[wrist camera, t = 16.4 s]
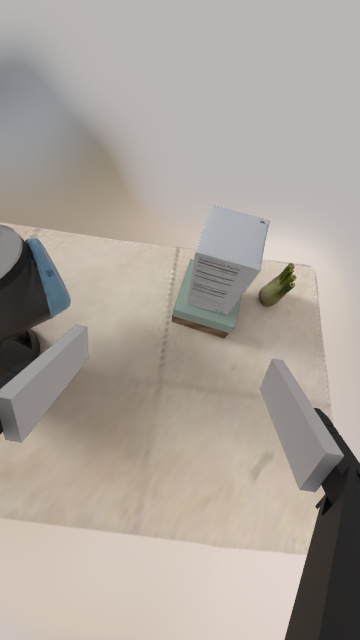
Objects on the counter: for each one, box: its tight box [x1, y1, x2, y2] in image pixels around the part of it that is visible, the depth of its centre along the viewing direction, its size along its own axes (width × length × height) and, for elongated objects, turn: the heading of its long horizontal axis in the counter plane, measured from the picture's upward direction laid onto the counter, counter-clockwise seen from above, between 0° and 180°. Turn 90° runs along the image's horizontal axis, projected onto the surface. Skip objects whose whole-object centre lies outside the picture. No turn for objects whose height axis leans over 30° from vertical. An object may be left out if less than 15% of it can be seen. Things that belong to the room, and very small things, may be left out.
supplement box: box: [186, 205, 270, 315], centre depth 37 cm, size 10×9×17 cm
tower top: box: [173, 259, 242, 333], centre depth 47 cm, size 13×13×4 cm
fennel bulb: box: [259, 263, 296, 306], centre depth 48 cm, size 6×5×12 cm
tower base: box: [172, 315, 228, 338], centre depth 50 cm, size 13×13×4 cm
